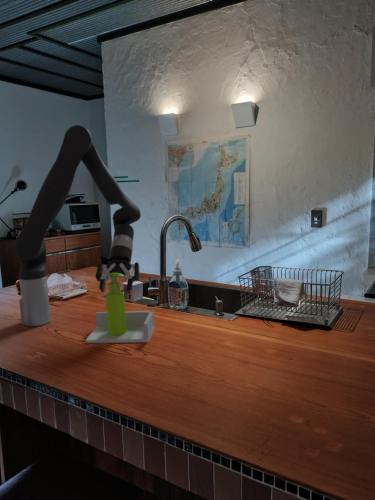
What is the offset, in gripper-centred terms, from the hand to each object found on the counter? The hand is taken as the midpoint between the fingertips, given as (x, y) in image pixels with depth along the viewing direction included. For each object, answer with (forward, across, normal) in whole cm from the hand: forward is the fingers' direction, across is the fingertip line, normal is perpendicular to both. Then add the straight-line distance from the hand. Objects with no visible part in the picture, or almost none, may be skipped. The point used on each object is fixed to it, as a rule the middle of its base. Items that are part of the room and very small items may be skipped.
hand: (115, 291), depth 126 cm
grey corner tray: (+10, +1, +11) cm, 15 cm away
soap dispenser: (+10, 0, +10) cm, 14 cm away
